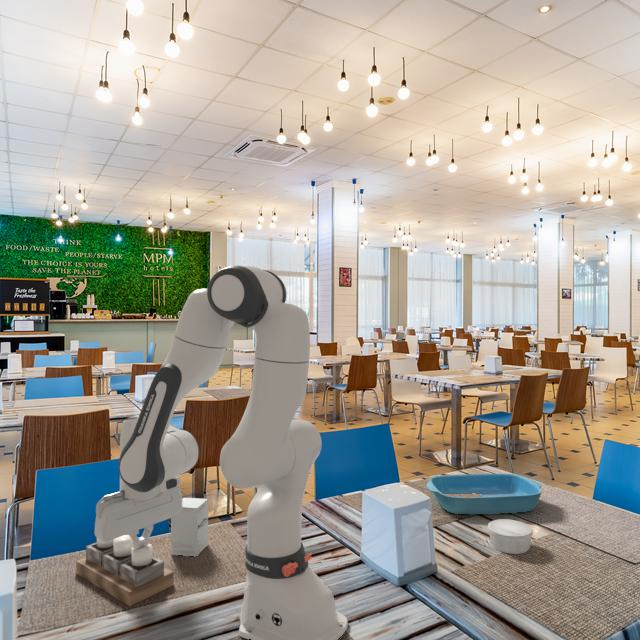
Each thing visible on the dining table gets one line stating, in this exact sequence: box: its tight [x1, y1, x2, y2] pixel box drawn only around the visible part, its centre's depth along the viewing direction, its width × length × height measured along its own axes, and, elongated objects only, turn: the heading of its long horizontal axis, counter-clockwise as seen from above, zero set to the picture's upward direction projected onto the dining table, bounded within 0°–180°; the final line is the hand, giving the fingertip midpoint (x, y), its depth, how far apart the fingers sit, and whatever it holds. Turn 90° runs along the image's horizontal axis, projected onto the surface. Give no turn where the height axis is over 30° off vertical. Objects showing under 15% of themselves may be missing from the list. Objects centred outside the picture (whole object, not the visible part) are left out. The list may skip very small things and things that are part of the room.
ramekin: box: [487, 518, 534, 555], centre depth 136 cm, size 11×11×5 cm
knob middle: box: [113, 534, 133, 557], centre depth 120 cm, size 4×4×3 cm
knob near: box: [131, 543, 153, 566], centre depth 115 cm, size 4×4×3 cm
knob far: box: [96, 537, 114, 548], centre depth 124 cm, size 4×4×3 cm
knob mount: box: [75, 541, 175, 607], centre depth 120 cm, size 23×11×6 cm, turn 52°
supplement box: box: [170, 497, 209, 558], centre depth 135 cm, size 7×7×13 cm
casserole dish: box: [426, 473, 542, 515], centre depth 166 cm, size 37×22×7 cm, turn 93°
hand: (140, 546), depth 115 cm, fingers closed
